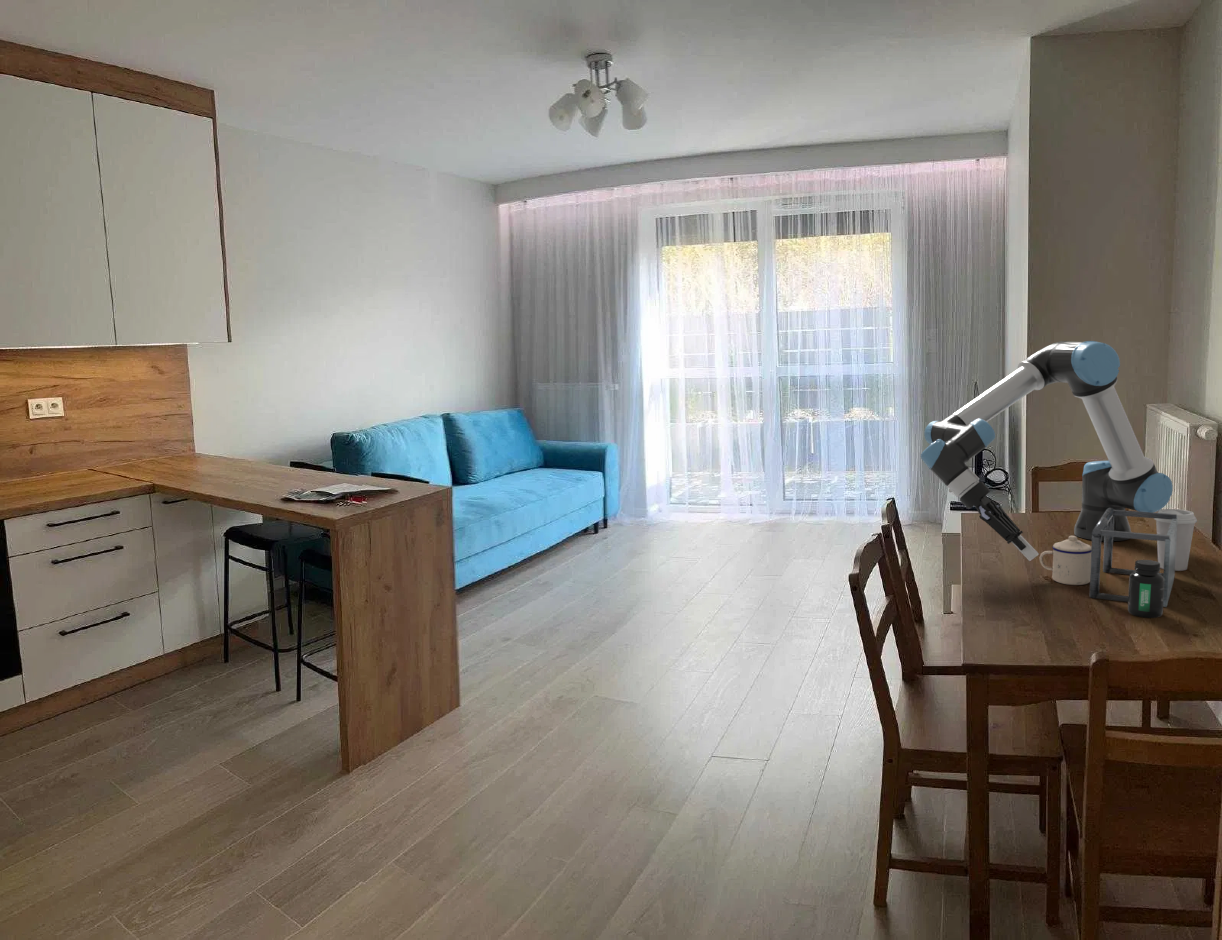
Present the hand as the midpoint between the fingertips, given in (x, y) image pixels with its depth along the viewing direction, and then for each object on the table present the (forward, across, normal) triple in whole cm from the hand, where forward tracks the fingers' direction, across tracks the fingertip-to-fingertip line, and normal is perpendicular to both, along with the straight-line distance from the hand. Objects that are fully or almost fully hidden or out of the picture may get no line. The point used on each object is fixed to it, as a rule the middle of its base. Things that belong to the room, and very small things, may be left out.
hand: (1034, 557), depth 235 cm
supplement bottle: (+23, +19, +15) cm, 33 cm away
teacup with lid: (+9, -1, +1) cm, 9 cm away
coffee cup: (+24, -26, +17) cm, 39 cm away
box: (+20, -2, +12) cm, 23 cm away
